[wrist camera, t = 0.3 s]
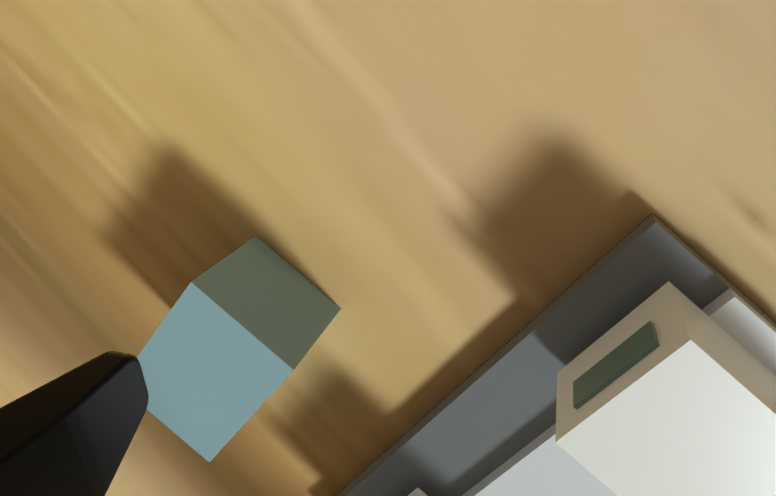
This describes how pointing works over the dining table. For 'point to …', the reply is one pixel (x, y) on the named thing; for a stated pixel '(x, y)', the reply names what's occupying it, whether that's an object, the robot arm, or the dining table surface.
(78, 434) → the robot arm
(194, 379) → the block
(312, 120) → the dining table surface
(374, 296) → the dining table surface
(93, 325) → the dining table surface
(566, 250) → the dining table surface
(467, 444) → the din board
